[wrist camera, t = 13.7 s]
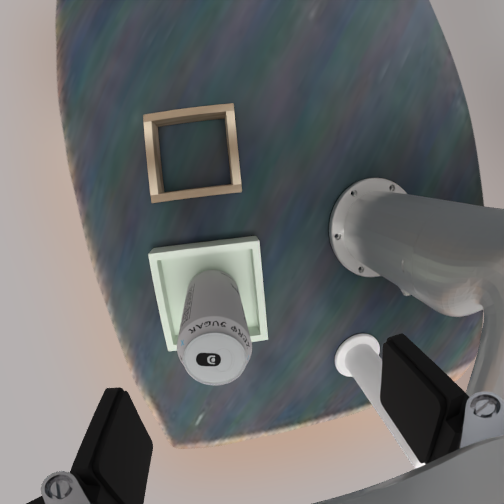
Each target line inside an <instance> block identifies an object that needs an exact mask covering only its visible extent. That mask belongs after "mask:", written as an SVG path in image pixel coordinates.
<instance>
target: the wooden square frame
mask: <svg viewBox="0 0 504 504" xmlns="http://www.w3.org/2000/svg"><path fill="white" fill-rule="evenodd" d="M224 118H225V126H226V137H227V147H228V157H229V168H230V178H231V184H228V185H219V186H210V187H202V188H194V189H186V190H178V191H171V192H164V185H163V176H162V167H161V157H160V146H159V134H158V127H161V126H167V125H174V124H181V123H189V122H197V121H205V120H214V119H224ZM143 119H144V133H145V145H146V156H147V166H148V176H149V185H150V193H151V202H152V203H157V202H164V201H171V200H179V199H186V198H194V197H202V196H211V195H219V194H228V193H237V192H242V186H241V176H240V166H239V156H238V145H237V135H236V125H235V114H234V104H233V103H231V104H220V105H210V106H201V107H193V108H185V109H178V110H171V111H164V112H158V113H152V114H146V115H143Z"/></svg>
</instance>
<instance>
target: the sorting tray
mask: <svg viewBox="0 0 504 504" xmlns="http://www.w3.org/2000/svg"><path fill="white" fill-rule="evenodd" d="M148 255H149V261H150V267H151V272H152V278H153V283H154V288H155V293H156V298H157V303H158V308H159V313H160V317H161V322H162V326H163V331H164V335H165V339H166V344H167V348H168V351H177V341H178V335H179V330H180V325H181V319H182V314H183V309H184V304H185V299H186V294H187V289H188V286H189V283H190V282H191V280H192V279H193V278H194V277H195V276H196V275H197V274H199V273H201V272H203V271H206V270H220V271H223V272H225V273H227V274H229V275H230V276H231V277H232V278H233V279H234V280H235V282H236V284H237V286H238V289H239V293H240V297H241V301H242V306H243V310H244V314H245V318H246V322H247V326H248V330H249V334H250V338H251V342H255V341H262V340H268V333H267V322H266V310H265V299H264V287H263V276H262V265H261V254H260V243H259V240H258V238H257V237H256V236H248V237H239V238H231V239H222V240H214V241H206V242H197V243H189V244H181V245H173V246H165V247H157V248H153V249H152V250H151V251H150V253H149V254H148Z"/></svg>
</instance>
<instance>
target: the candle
mask: <svg viewBox="0 0 504 504" xmlns="http://www.w3.org/2000/svg"><path fill="white" fill-rule="evenodd" d="M379 352H380V346H379V343H378V341H377V340H376V339H375V338H374V337H373V336H372V335H369V334H364V333H363V334H357V335H354V336H351V337H350V338H348V339H347V340H345V341H344V342H343V343H342V344H341V345H340V347H339V348H338V350H337V352H336V354H335V366H336V368H337V370H338V371H339V372H340V373H341V374H342V375H345V376H350V377H352V376H353V377H354V379H355V380H356V382H357V383H358V385H359V386H360V388H361V389H362V391H363V392H364V394H365V395H366V396H367V398H368V399H369V401H370V402H371V404H372V405H373V407H374V408H375V410H376V411H377V413H378V414H379V416H380V417H381V419H382V420H383V422H384V423H385V425H386V426H387V428H388V429H389V431H390V432H391V434H392V435H393V436H394V438H395V439H396V441H397V442H398V444H399V445H400V447H401V448H402V450H403V451H404V453H405V454H406V456H407V457H408V459H409V460H410V462H411V463H412V465H413V466H414V468H415V469H416V468H419V467H421V466H423V465H426V464H425V463H420V462H419V460H418V459H417V457H416V456H415V454H414V453H413V451H412V450H411V448H410V447H409V445H408V444H407V442H406V441H405V439H404V438H403V436H402V435H401V433H400V432H399V430H398V429H397V427H396V426H395V424H394V423H393V421H392V420H391V418H390V417H389V415H388V414H387V412H386V411H385V409H384V408H383V406H382V404H381V402H380V389H381V375H382V359H381V358H380V357H379Z"/></svg>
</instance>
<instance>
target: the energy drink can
mask: <svg viewBox="0 0 504 504" xmlns="http://www.w3.org/2000/svg"><path fill="white" fill-rule="evenodd" d="M177 352H178V356H179V358H180V360H181V362H182V364H183V365H184V366H185V369H186V371H187V372H188V374H189V375H190V376H191V377H192V378H194V379H195V380H197V381H199V382H201V383H204V384H207V385H223V384H227V383H229V382H232V381H233V380H235V379H237V378H238V377H239V376H240V375H241V374H242V372H243V371H244V369H245V367H246V364H247V363H248V361H249V359H250V357H251V353H252V342H251V338H250V334H249V330H248V326H247V322H246V318H245V314H244V310H243V306H242V301H241V297H240V293H239V289H238V286H237V284H236V282H235V280H234V279H233V278H232V277H231V276H230V275H229V274H227V273H225V272H223V271H220V270H206V271H203V272H201V273H199V274H197V275H196V276H195V277H194V278H193V279H192V280H191V282H190V283H189V286H188V289H187V294H186V299H185V304H184V309H183V314H182V319H181V325H180V330H179V335H178V341H177Z"/></svg>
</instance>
